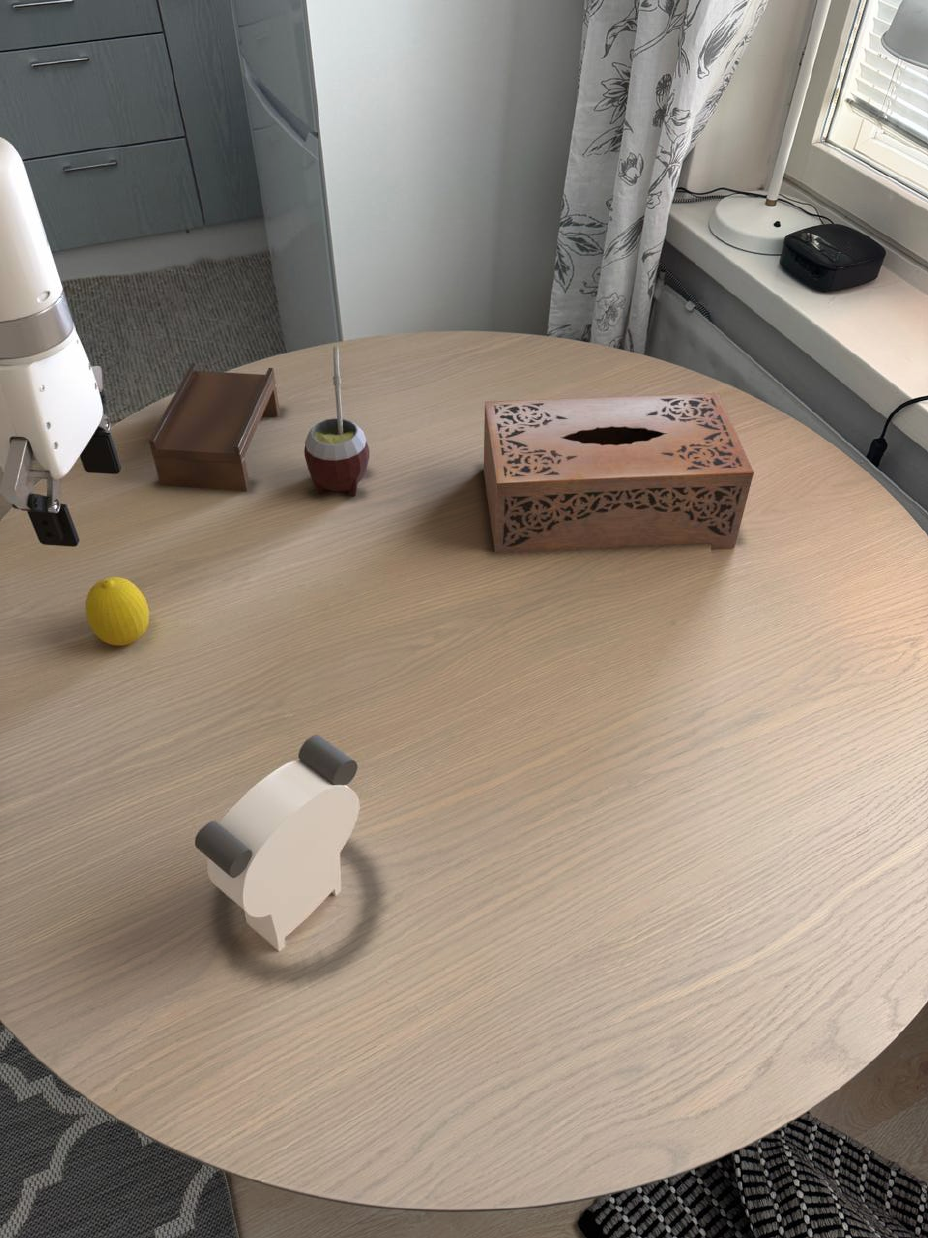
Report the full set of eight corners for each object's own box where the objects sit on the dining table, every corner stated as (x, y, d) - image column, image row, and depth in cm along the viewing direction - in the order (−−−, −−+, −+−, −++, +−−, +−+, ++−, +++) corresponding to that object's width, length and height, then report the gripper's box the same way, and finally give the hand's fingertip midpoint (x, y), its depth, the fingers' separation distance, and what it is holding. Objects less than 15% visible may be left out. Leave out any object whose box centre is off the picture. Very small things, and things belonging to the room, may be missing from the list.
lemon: (149, 614, 99) (130, 554, 94) (162, 651, 96) (143, 591, 90) (93, 631, 98) (70, 571, 92) (104, 669, 94) (81, 609, 89)
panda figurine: (306, 816, 83) (283, 700, 72) (408, 895, 78) (399, 783, 67) (193, 919, 76) (149, 808, 66) (296, 1012, 71) (267, 909, 61)
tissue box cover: (702, 466, 117) (718, 392, 110) (734, 547, 107) (754, 472, 99) (483, 475, 115) (484, 401, 108) (494, 558, 105) (497, 483, 98)
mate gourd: (332, 517, 110) (318, 401, 99) (294, 483, 114) (276, 368, 104) (387, 491, 113) (379, 375, 103) (348, 458, 118) (336, 344, 107)
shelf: (162, 491, 113) (148, 440, 108) (202, 412, 124) (191, 362, 119) (248, 497, 112) (238, 446, 107) (281, 417, 124) (273, 367, 119)
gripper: (17, 264, 79) (78, 444, 91) (-92, 382, 67) (-4, 571, 79) (109, 268, 78) (158, 448, 90) (16, 388, 66) (88, 578, 78)
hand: (83, 505), depth 84 cm, fingers open, 9 cm apart
